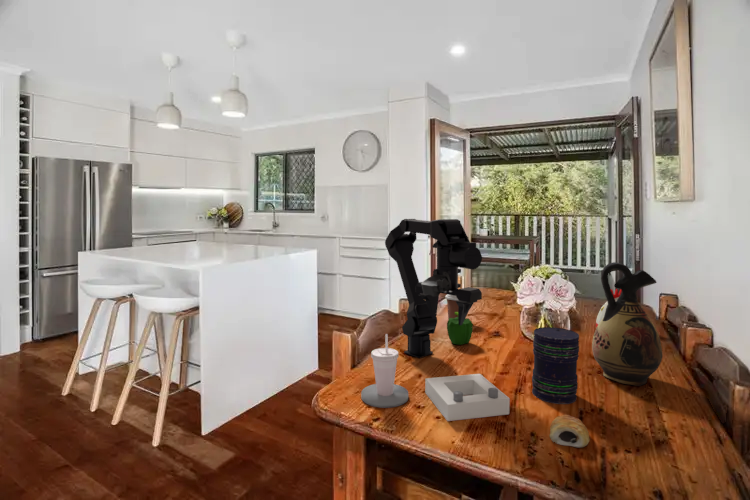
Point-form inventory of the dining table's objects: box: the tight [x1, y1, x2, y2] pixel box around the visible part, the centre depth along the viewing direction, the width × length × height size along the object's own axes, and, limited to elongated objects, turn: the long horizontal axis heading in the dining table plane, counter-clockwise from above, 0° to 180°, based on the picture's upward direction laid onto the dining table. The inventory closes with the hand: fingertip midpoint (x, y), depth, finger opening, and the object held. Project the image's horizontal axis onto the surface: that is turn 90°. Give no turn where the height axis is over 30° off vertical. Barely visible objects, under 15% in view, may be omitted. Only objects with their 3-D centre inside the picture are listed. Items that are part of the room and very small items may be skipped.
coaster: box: [360, 383, 409, 409], centre depth 97 cm, size 11×11×1 cm
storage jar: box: [531, 326, 580, 405], centre depth 97 cm, size 10×10×15 cm
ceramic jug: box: [591, 261, 664, 387], centre depth 107 cm, size 17×15×30 cm
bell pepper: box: [446, 312, 474, 345], centre depth 137 cm, size 8×8×10 cm
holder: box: [424, 373, 511, 422], centre depth 94 cm, size 14×14×5 cm
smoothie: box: [370, 333, 399, 396], centre depth 96 cm, size 6×6×14 cm
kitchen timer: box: [595, 288, 622, 328], centre depth 153 cm, size 14×14×15 cm
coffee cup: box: [444, 291, 459, 321], centre depth 163 cm, size 9×9×12 cm
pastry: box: [549, 414, 590, 449], centre depth 80 cm, size 9×7×4 cm
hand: (446, 321), depth 114 cm, fingers open, 9 cm apart
